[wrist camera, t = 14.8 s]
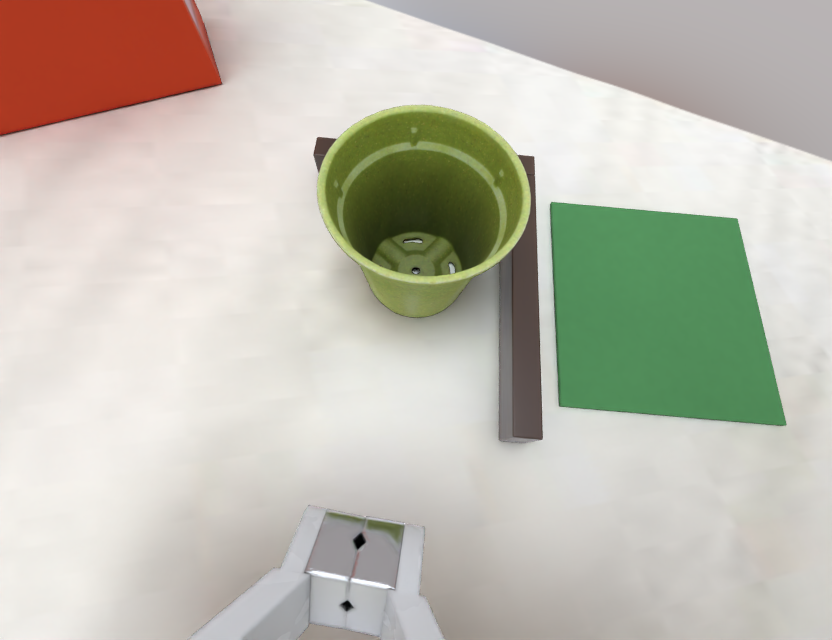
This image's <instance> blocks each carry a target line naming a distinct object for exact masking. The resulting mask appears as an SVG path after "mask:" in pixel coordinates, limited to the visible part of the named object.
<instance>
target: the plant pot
mask: <svg viewBox="0 0 832 640" xmlns="http://www.w3.org/2000/svg"><path fill="white" fill-rule="evenodd" d="M317 197H318V205H319V209H320V213H321V216H322V218H323V221H324V223H325V225H326V227H327V229H328V231H329V233H330V234H331V236H332V237H333V239H334V240H335V242H336V243H337V244H338V245H339V247H340V248H341V249H342V250H343V251H344V252H345V253H346V254H347V255H348V256H349V257H350V258H352V259H353V260H354V261H355V262H357V263H358V264H359V265H360V267H361V269H362V271H363V273H364V275H365V277H366V279H367V281H368V283H369V285H370V287H371V289H372V291H373V293H374V295H375V296H376V298H377V299H378V300H379V301H380V302H381V303H382V304H383V305H385V306H386V307H387V308H389V309H390V310H391V311H393V312H395V313H397V314H400V315H403V316H408V317H417V318H418V317H427V316H431V315H434V314H437V313H439V312H441V311H443V310H444V309H446V308H447V307H448V306H450V305H451V304H452V303H453V302H454V301H455V300H456V298H457V297H458V296H459V295H460V293H461V292H462V291H463V289H464V288H465V287H466V285H467V284H468V283H469V282H470V280H471V279H472V278H473V277H475V276H477V275H479V274H481V273H483V272H485V271H487V270H488V269H490V268H492V267H493V266H495V265H496V264H497V263H499V262H500V261H501V260H502V259H503V258H504V257H505V256H506V255H507V254H508V253H509V252H510V251H511V250H512V249H513V247H514V246H515V245H516V243H517V242H518V241H519V239H520V237H521V235H522V234H523V232H524V230H525V227H526V224H527V222H528V218H529V214H530V206H531V194H530V187H529V182H528V178H527V175H526V172H525V169H524V167H523V165H522V163H521V161H520V159H519V157H518V156H517V154H516V153H515V152H514V150H513V149H512V148H511V146H510V145H509V144H508V143H507V142H506V141H505V140H504V139H503V138H502V137H501V136H500V135H499V134H498V133H497V132H495V131H494V130H493V129H492V128H490V127H489V126H488V125H486V124H485V123H483V122H481V121H479V120H478V119H476V118H474V117H472V116H469V115H467V114H464V113H462V112H458V111H455V110H452V109H448V108H443V107H438V106H432V105H405V106H399V107H393V108H390V109H386V110H383V111H380V112H377V113H375V114H373V115H370V116H367V117H365V118H364V119H362V120H360V121H359V122H357V123H355V124H354V125H352V126H351V127H350V128H348V129H347V130H346V131H345V132H344V133H343V134H342V135H341V136H340V137H339V138H338V139H337V140H336V141H335V142H334V143H333V145H332V146H331V147H330V149H329V150H328V152H327V154H326V156H325V158H324V160H323V162H322V165H321V168H320V172H319V175H318V181H317ZM411 238H419V239H421V240H423V243H415V242H410V243H409V242H408V243H403V241H404V240H405V239H411ZM449 262H452V263H453V264H454V266H455V273H453V274H450V269H449V266H448V263H449ZM379 265H381V266H382V267H381V266H379ZM415 267H417V268H419V269H420V273H419V274H413V273H412V269H413V268H415Z"/></svg>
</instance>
